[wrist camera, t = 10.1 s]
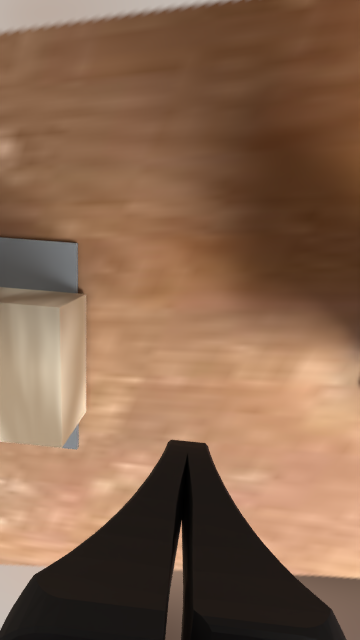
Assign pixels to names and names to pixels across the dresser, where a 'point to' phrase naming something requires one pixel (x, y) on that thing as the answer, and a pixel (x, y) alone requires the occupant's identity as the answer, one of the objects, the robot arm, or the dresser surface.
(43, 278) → the mat
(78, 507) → the dresser surface
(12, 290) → the birch block
